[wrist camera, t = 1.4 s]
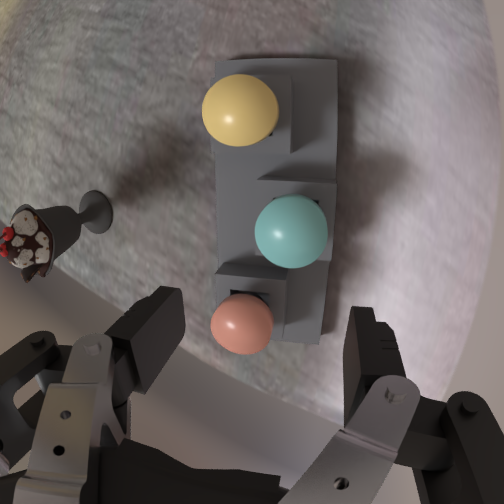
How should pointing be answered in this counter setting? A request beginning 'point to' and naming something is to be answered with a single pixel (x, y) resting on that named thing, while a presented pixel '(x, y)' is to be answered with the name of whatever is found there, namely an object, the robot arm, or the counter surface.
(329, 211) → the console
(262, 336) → the salmon orange dome button
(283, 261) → the button teal
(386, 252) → the counter surface
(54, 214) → the sundae
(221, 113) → the button ochre
